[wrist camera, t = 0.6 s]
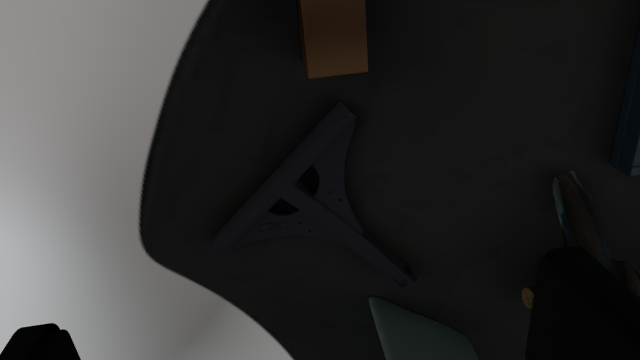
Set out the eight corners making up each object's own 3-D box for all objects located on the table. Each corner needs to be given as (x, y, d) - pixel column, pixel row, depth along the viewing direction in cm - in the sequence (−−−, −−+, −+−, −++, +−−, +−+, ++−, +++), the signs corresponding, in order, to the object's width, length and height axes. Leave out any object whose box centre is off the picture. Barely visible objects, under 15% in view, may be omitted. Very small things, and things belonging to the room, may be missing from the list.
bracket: (347, 322, 41) (353, 346, 38) (210, 235, 35) (207, 256, 33) (469, 213, 37) (484, 231, 35) (338, 96, 32) (345, 108, 29)
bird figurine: (491, 193, 36) (664, 494, 25) (613, 149, 35) (840, 435, 25) (475, 253, 47) (590, 478, 36) (568, 221, 47) (710, 437, 36)
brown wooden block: (291, -38, 28) (296, -36, 24) (348, -44, 28) (363, -43, 24) (302, 62, 30) (308, 79, 26) (354, 56, 31) (368, 72, 27)
